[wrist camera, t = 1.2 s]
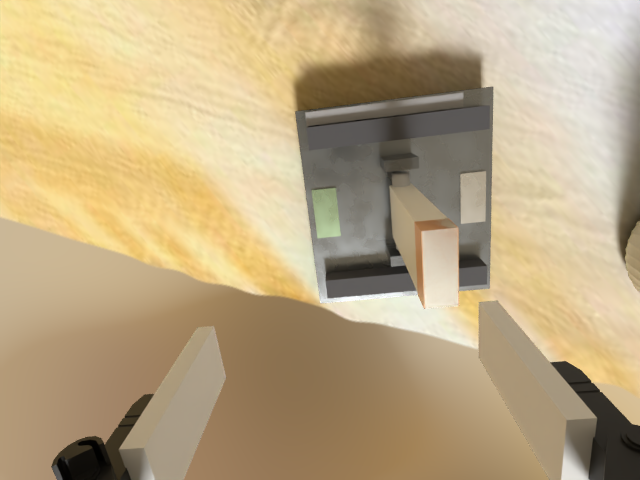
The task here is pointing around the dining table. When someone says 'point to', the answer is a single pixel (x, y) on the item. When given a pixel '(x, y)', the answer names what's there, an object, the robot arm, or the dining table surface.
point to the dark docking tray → (392, 130)
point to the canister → (634, 256)
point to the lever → (425, 243)
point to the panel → (374, 194)
